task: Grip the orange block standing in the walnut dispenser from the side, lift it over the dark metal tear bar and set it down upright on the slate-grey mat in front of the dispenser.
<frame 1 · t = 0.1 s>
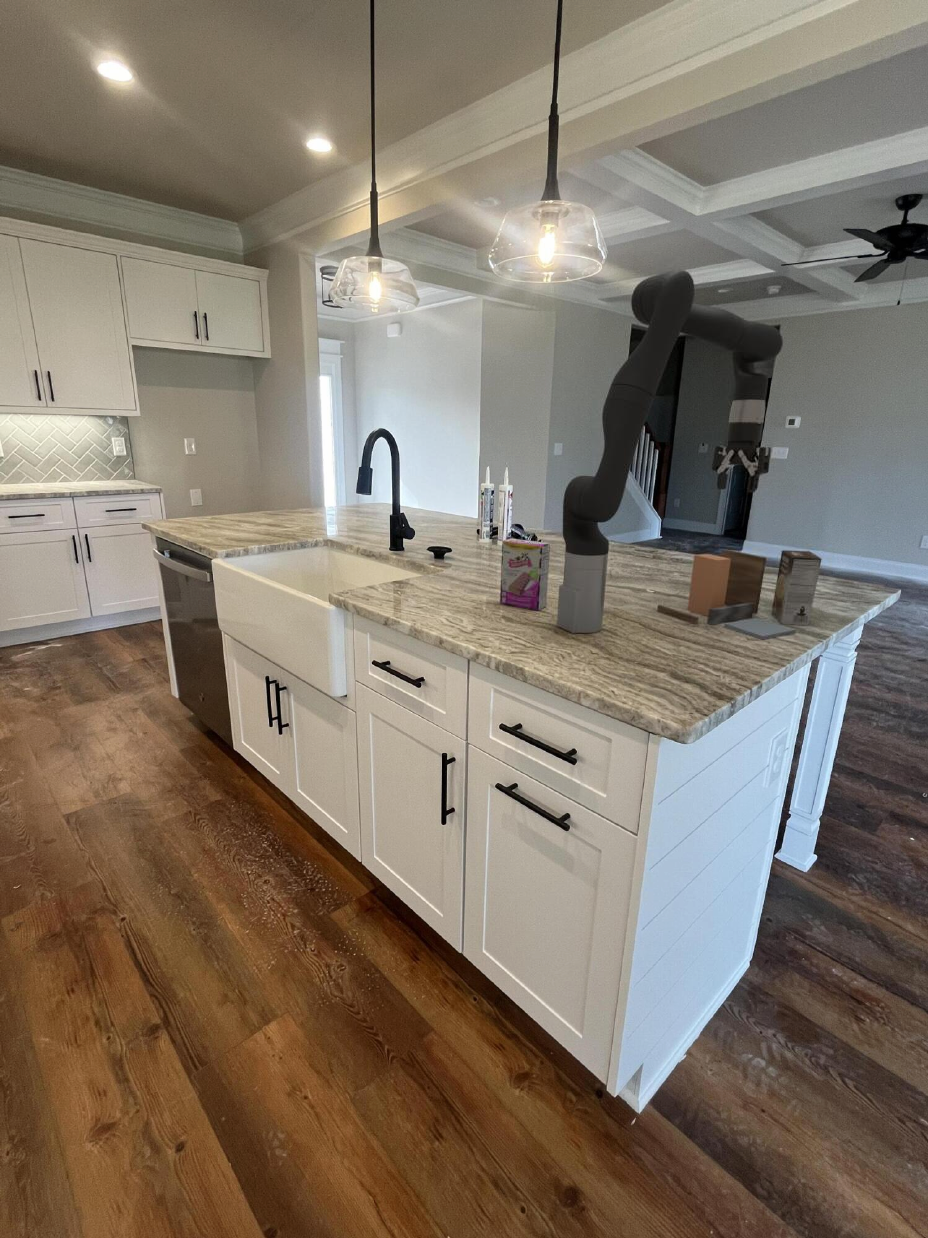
hand: (736, 490, 149), 29 cm above the worktop, tool pointing down, fingers open, 8 cm apart
coffee box: (789, 620, 146), on the worktop
orange block: (704, 612, 150), on the worktop
mat: (759, 629, 137), on the worktop
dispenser: (704, 612, 150), on the worktop
candy bar box: (522, 606, 154), on the worktop
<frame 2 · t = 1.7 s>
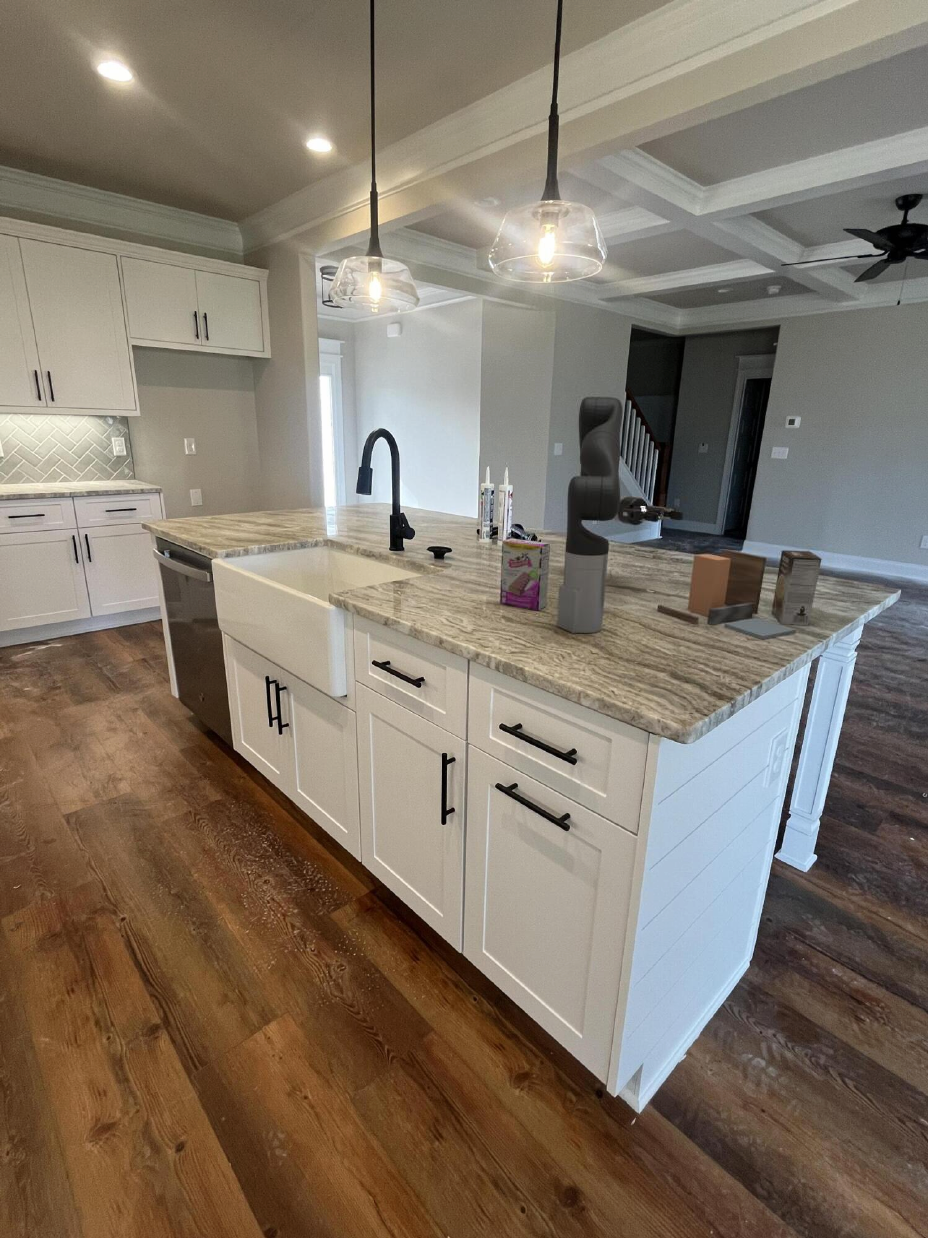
hand: (669, 517, 157), 22 cm above the worktop, tool horizontal, fingers open, 8 cm apart
nothing on the worktop moved.
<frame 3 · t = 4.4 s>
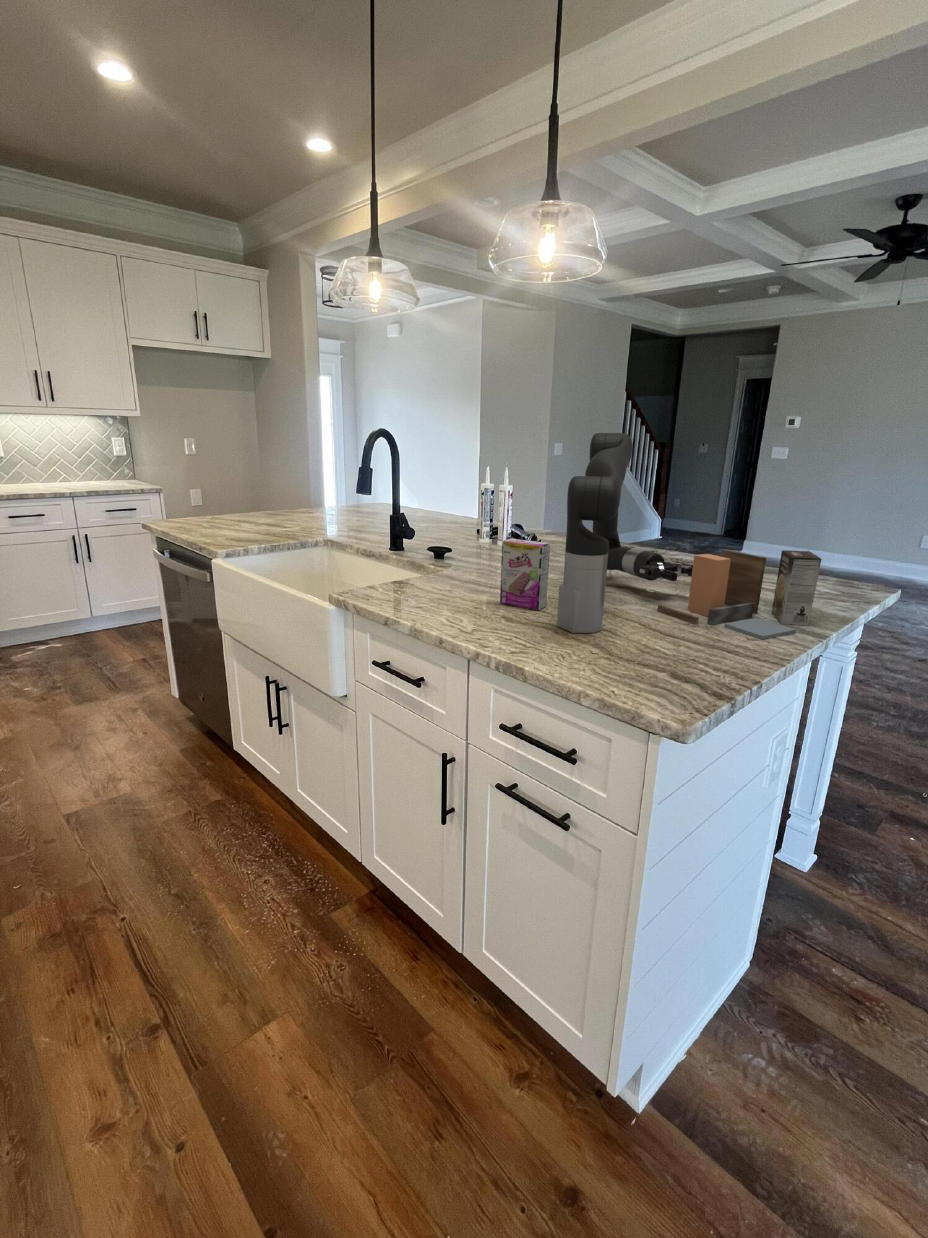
hand: (688, 575, 154), 8 cm above the worktop, tool horizontal, fingers open, 8 cm apart
nothing on the worktop moved.
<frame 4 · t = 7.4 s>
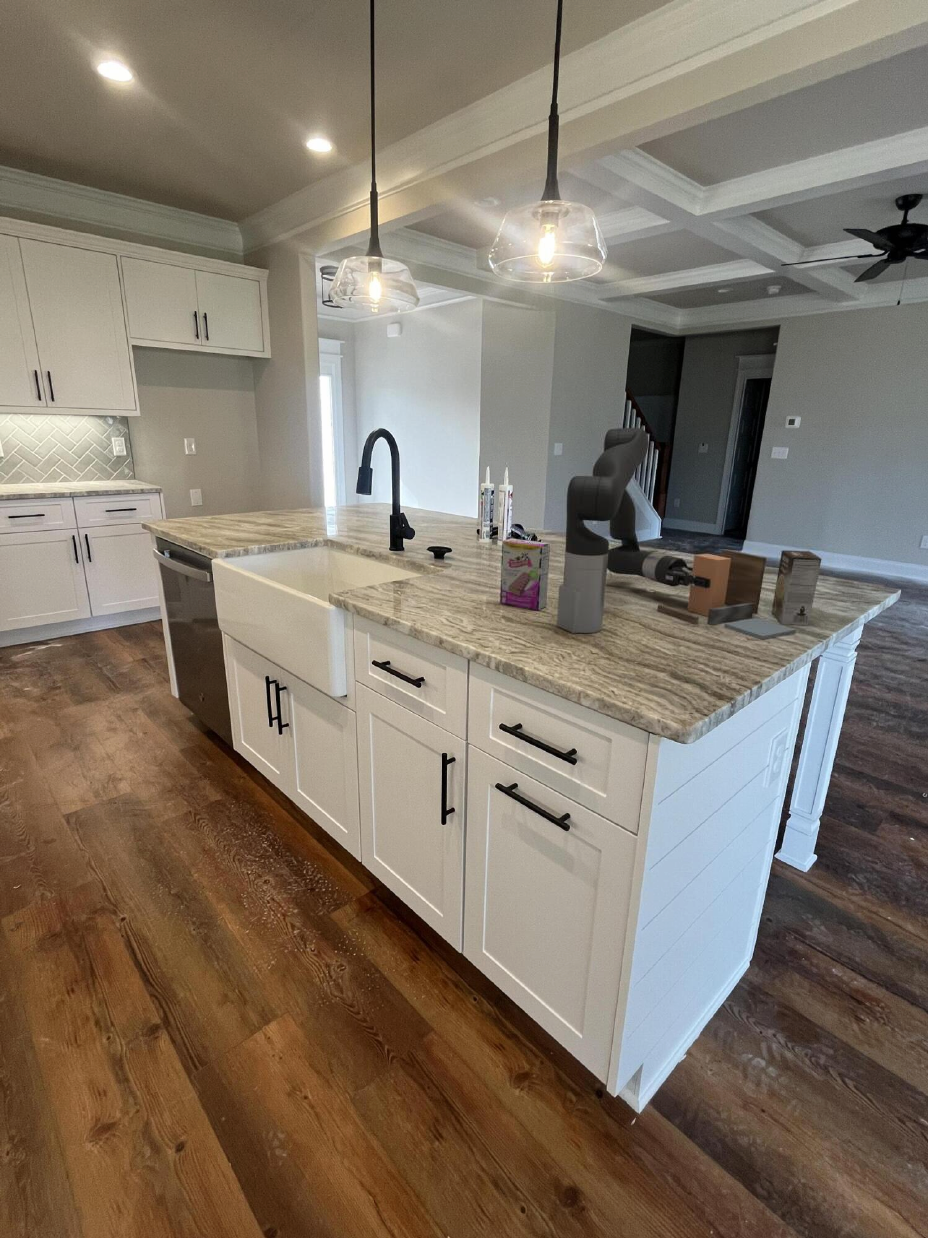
hand: (716, 582, 146), 8 cm above the worktop, tool horizontal, fingers closed on orange block, 4 cm apart
orange block: (704, 612, 150), on the worktop, touching gripper
everything else where it was.
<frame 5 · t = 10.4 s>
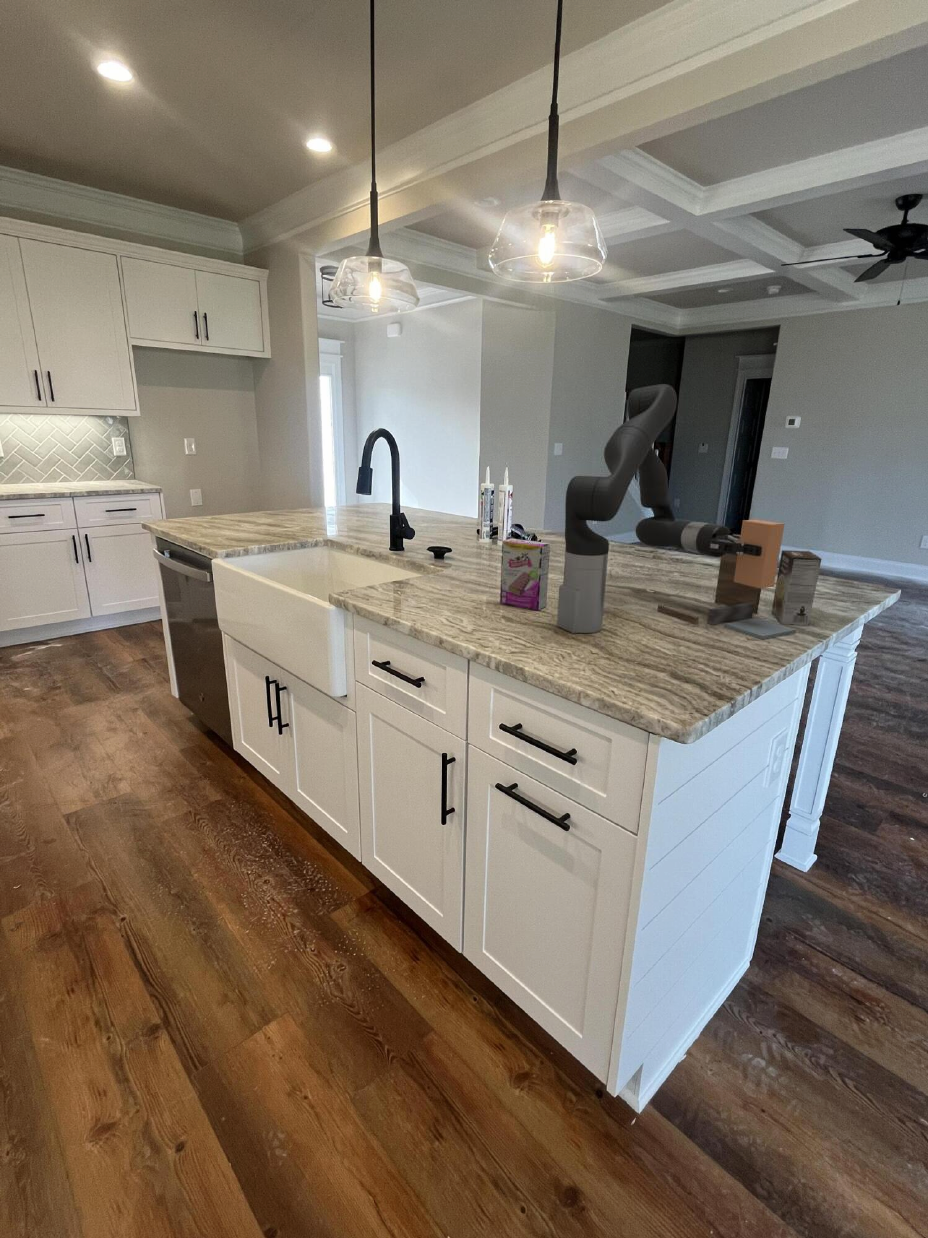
hand: (768, 550, 133), 18 cm above the worktop, tool horizontal, fingers closed on orange block, 4 cm apart
orange block: (753, 584, 137), point 10 cm above the worktop, touching gripper
everything else where it was.
when the fingers open (10 cm above the worktop, at t = 13.5 s): orange block drops 1 cm, resting on mat.
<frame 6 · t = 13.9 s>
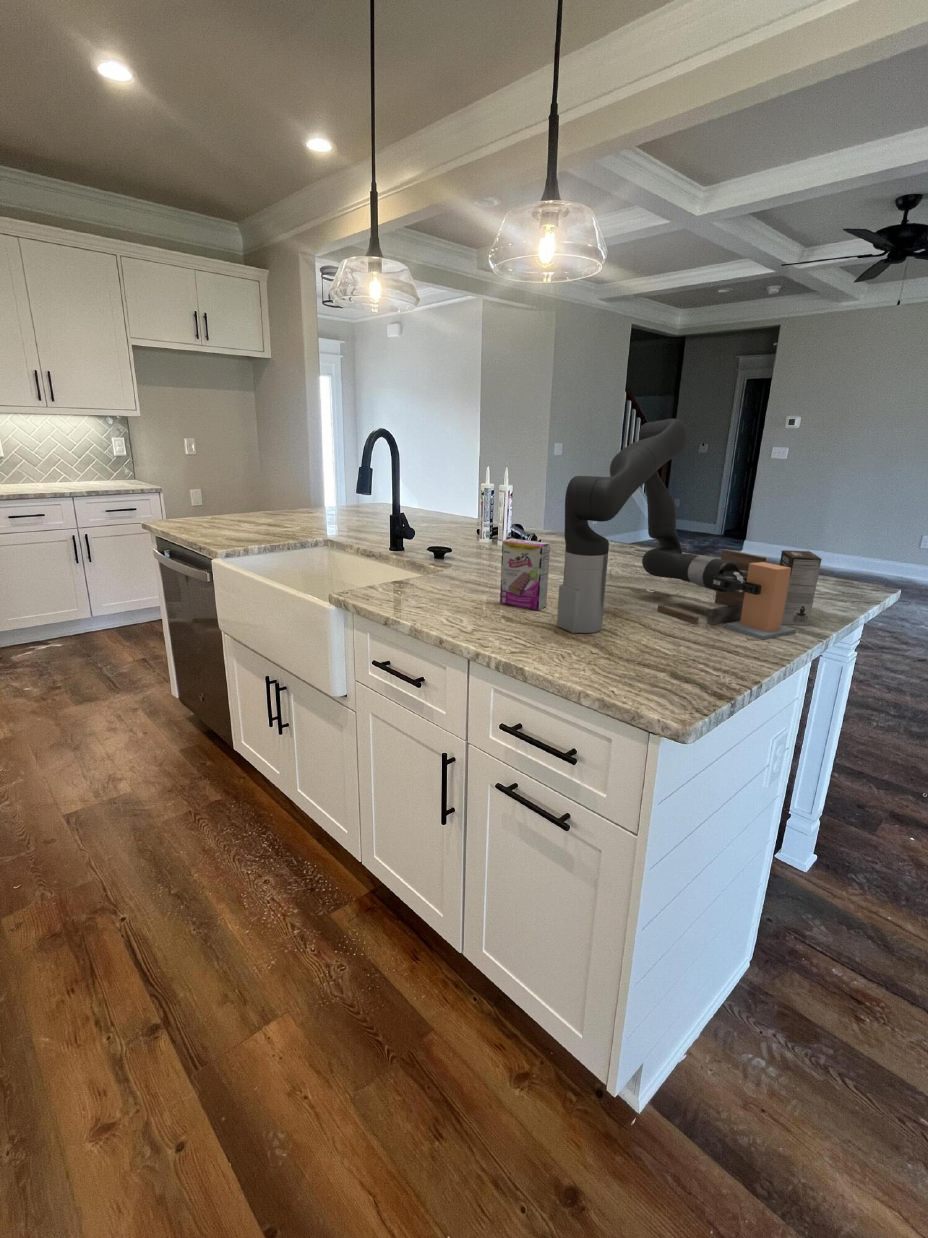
hand: (772, 588, 133), 10 cm above the worktop, tool horizontal, fingers open, 8 cm apart
orange block: (759, 626, 137), point 1 cm above the worktop, touching mat
everything else where it was.
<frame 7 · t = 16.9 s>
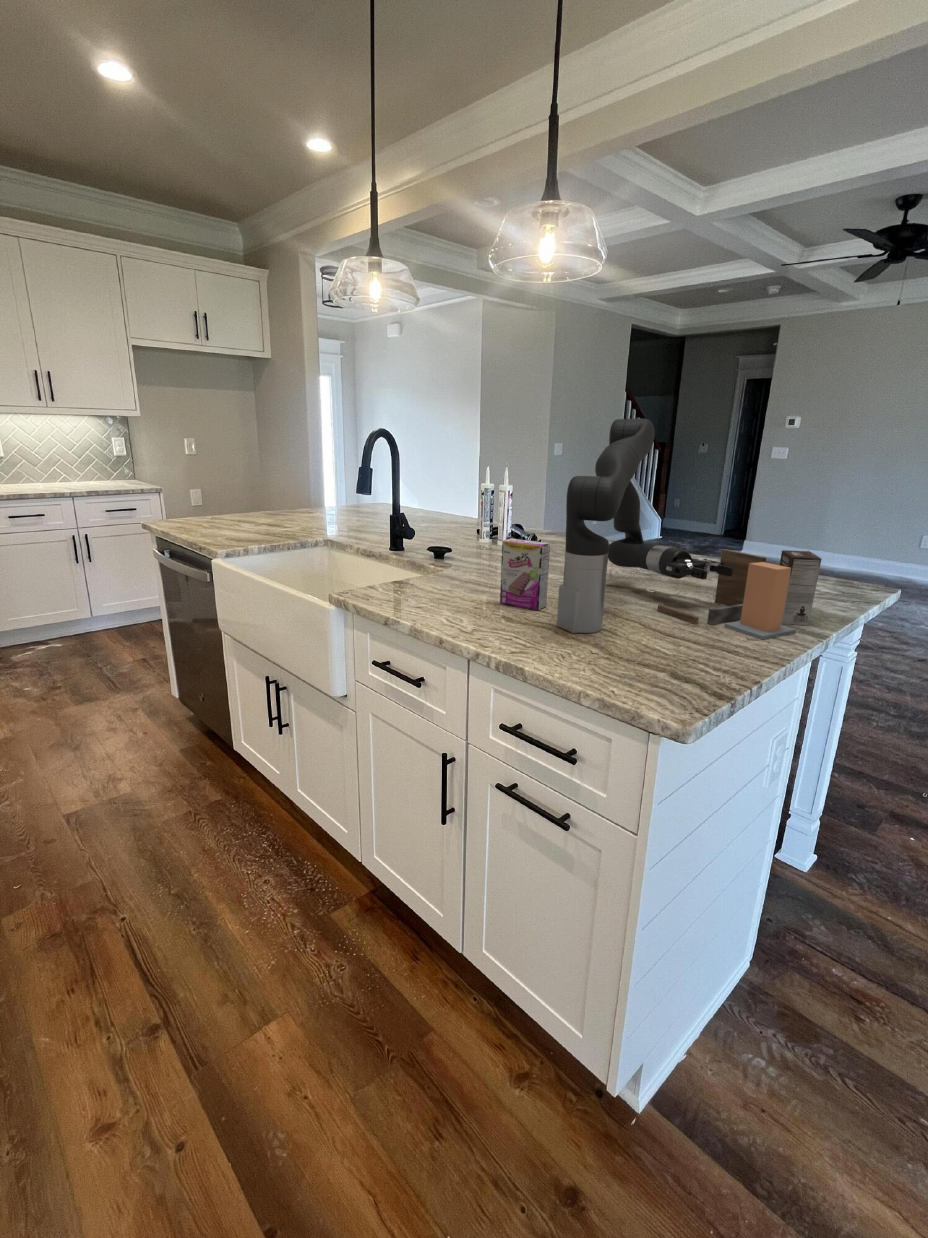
hand: (718, 573, 145), 10 cm above the worktop, tool horizontal, fingers open, 8 cm apart
nothing on the worktop moved.
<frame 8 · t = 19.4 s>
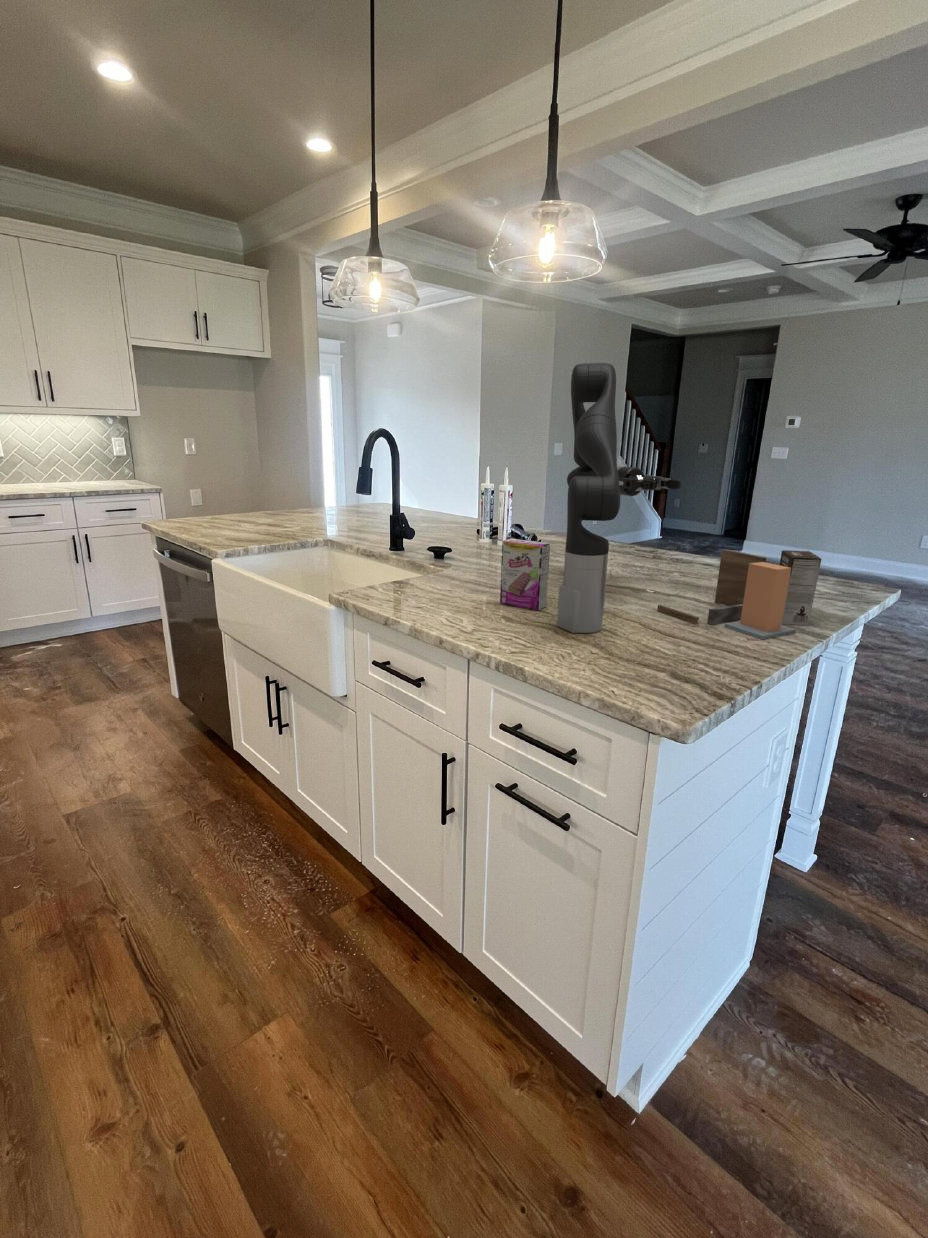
hand: (667, 485, 151), 30 cm above the worktop, tool horizontal, fingers open, 8 cm apart
nothing on the worktop moved.
at the end: orange block inside the target area (0.0 cm from its centre), point 0.8 cm above the worktop; orange block tilted 0°; the gripper is holding nothing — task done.
